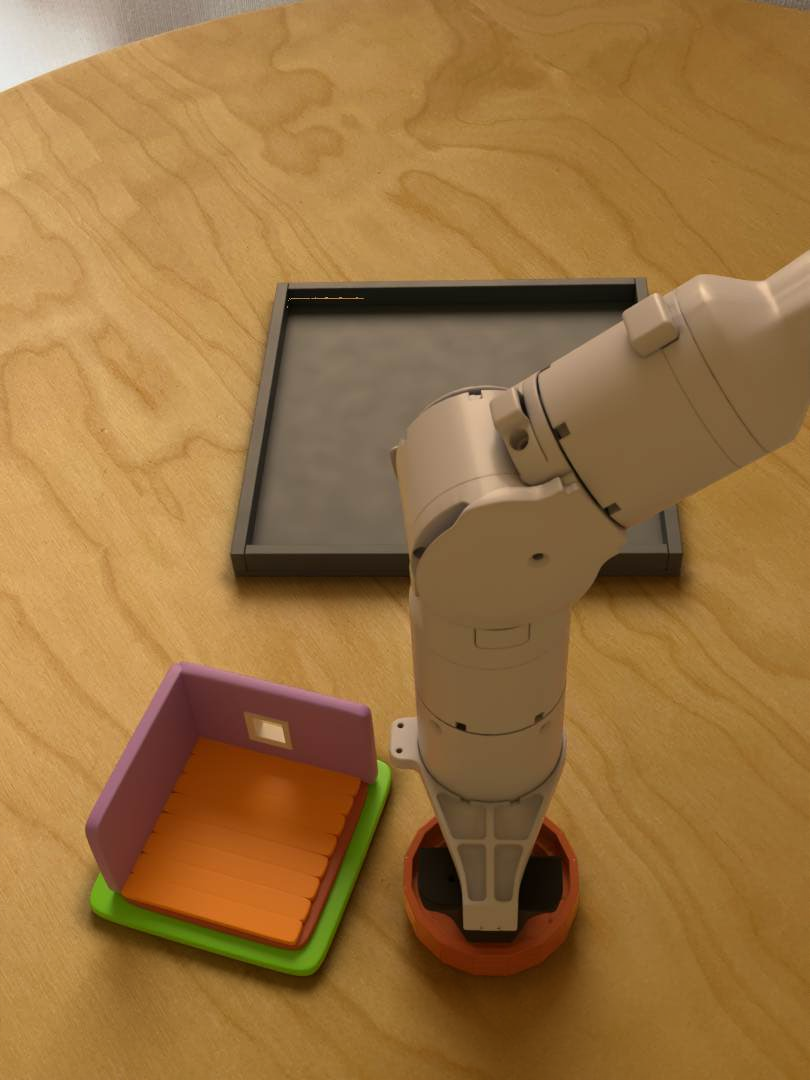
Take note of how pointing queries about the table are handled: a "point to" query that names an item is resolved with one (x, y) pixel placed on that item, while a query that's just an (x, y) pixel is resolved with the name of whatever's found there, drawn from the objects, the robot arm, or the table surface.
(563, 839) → the dish
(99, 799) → the miniature room corner
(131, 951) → the table surface
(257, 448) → the tray
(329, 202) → the table surface
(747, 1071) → the table surface
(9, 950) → the table surface
